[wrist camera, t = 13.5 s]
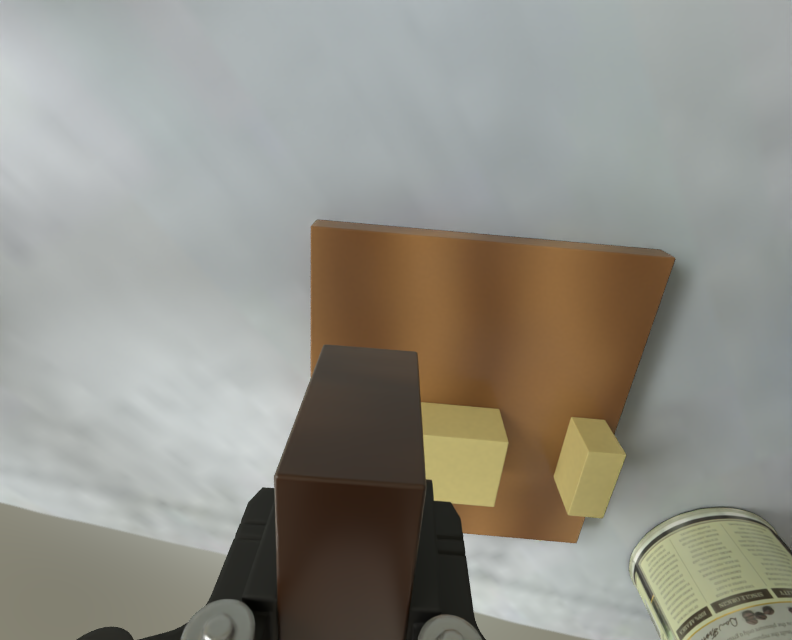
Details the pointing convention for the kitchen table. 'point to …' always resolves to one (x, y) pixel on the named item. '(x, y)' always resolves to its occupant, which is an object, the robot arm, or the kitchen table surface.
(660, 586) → the coffee can
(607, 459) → the butter slice
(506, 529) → the board
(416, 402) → the knife
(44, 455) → the kitchen table surface
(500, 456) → the butter
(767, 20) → the kitchen table surface
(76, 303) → the kitchen table surface
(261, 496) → the robot arm
